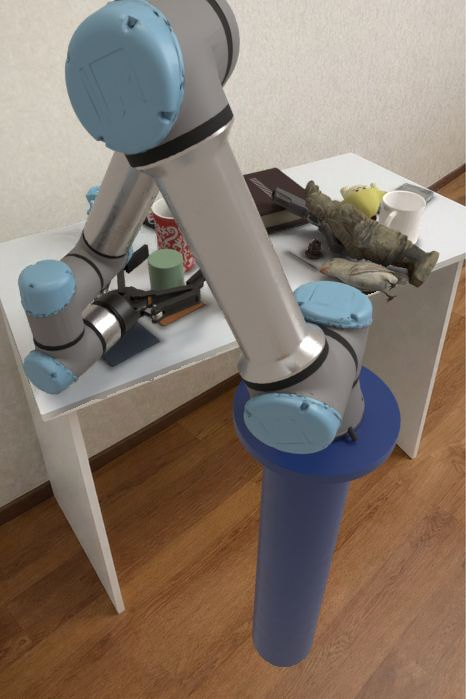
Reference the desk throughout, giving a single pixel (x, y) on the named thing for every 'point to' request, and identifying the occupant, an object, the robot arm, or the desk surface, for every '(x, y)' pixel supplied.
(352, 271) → the decorative bird
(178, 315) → the cork mat
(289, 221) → the book
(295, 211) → the handgun
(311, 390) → the robot arm
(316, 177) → the desk surface
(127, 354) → the slate mat
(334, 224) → the statue
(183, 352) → the desk surface
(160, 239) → the mug
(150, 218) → the usb flash drive
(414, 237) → the mug
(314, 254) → the figurine
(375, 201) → the toy
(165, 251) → the canister
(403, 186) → the phone
